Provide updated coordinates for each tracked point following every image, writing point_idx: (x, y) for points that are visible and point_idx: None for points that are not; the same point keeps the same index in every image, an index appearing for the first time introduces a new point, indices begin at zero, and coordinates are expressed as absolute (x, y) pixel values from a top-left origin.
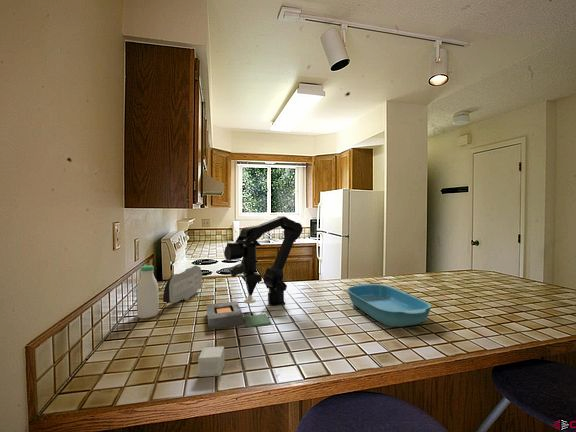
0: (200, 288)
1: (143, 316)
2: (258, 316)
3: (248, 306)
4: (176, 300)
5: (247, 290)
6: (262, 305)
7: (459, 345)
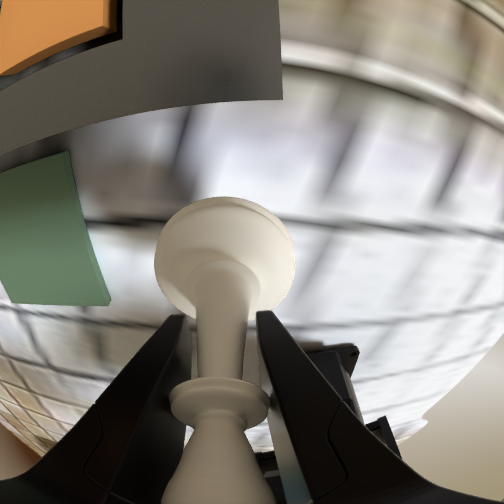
0: None
1: None
2: (64, 261)
3: (334, 218)
4: None
5: (285, 337)
6: (306, 312)
7: (37, 449)
